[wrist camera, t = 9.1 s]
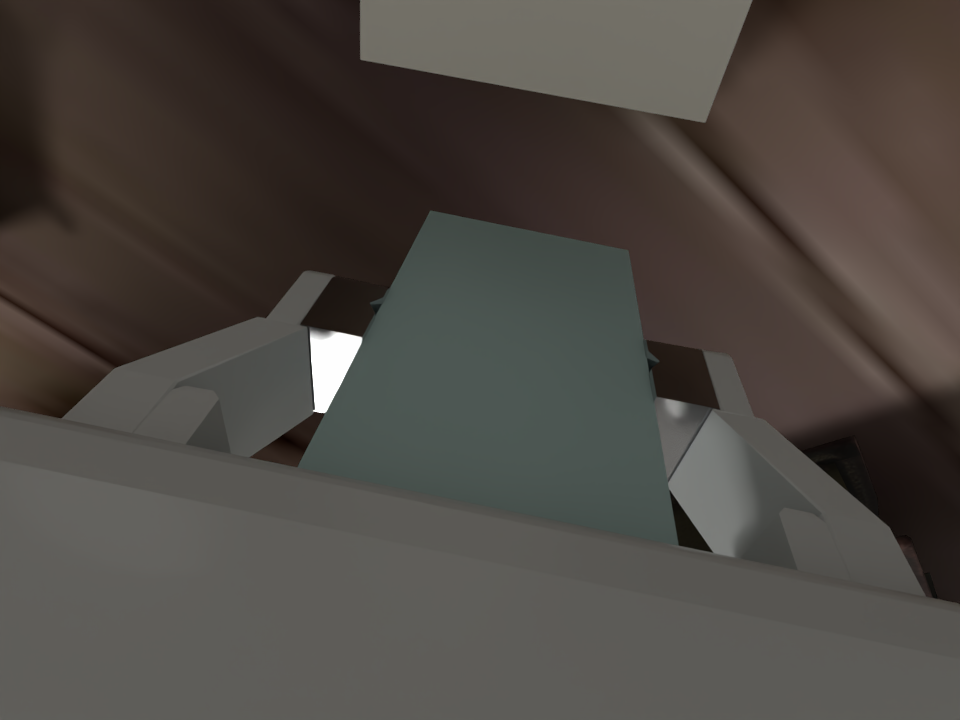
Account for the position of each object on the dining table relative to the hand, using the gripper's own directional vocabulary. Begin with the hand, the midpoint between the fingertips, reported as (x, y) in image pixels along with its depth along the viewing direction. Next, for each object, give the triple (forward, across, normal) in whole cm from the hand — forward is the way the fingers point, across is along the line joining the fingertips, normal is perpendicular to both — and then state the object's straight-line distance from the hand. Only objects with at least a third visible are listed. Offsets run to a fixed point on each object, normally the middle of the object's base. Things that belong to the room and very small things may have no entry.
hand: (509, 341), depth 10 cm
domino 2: (+3, 0, 0) cm, 3 cm away
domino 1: (+8, -1, +5) cm, 9 cm away
